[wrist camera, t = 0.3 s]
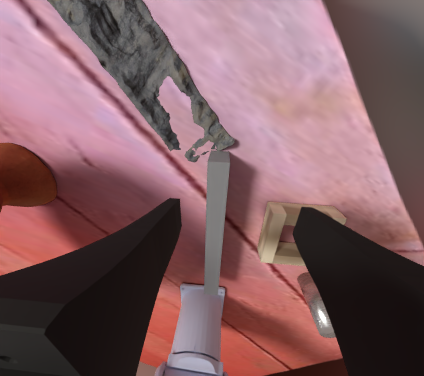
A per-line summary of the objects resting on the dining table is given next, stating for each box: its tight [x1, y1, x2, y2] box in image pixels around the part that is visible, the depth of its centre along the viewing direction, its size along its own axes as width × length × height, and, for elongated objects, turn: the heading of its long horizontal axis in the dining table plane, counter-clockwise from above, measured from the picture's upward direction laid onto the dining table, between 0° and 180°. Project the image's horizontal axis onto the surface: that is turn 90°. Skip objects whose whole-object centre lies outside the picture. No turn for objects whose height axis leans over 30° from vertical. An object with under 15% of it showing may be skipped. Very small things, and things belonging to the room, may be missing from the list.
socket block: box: [258, 202, 347, 266], centre depth 21 cm, size 8×8×2 cm
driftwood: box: [47, 0, 235, 162], centre depth 15 cm, size 21×7×2 cm, turn 35°
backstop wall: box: [204, 151, 230, 295], centre depth 21 cm, size 20×2×4 cm, turn 178°
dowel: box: [297, 273, 336, 338], centre depth 23 cm, size 3×3×7 cm
